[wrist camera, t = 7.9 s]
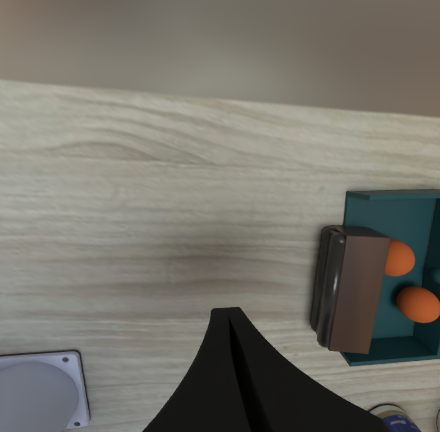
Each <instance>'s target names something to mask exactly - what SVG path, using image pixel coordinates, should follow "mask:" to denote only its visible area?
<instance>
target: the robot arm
mask: <svg viewBox="0 0 440 432" xmlns="http://www.w3.org/2000/svg"><path fill="white" fill-rule="evenodd" d="M65 357H67V358H68V359H67V358H65ZM89 421H90V417H89V410H88V404H87V398H86V392H85V386H84V380H83V374H82V368H81V362H80V356H79V354H78V353H77V352H75V351H70V352H57V353H43V354H29V355H16V356H2V357H0V432H64V430H65V429H71V428H82V427H86V426H87V425H88V424H89ZM142 432H392V431H391V430H390V429H389V428H388V426H387V425H386V424H385V423H384V421H383V420H382V419H381V418H379V417H377V416H376V415H374V414H372V413H370V412H368V411H366V410H364V409H362V408H360V407H358V406H356V405H354V404H352V403H351V402H349V401H347V400H345V399H343V398H342V397H340V396H338V395H337V394H335V393H333V392H332V391H330V390H328V389H327V388H325V387H324V386H322V385H321V384H319V383H318V382H316V381H315V380H313V379H312V378H310V377H309V376H308V375H306V374H305V373H303V372H302V371H301V370H299V369H298V368H297V367H295V366H294V365H293V364H292V363H291V362H289V361H288V360H287V359H286V358H285V357H283V356H282V355H281V354H280V353H279V352H278V351H277V350H276V349H275V348H274V347H273V346H272V345H271V344H270V343H269V342H268V341H267V340H266V339H265V338H264V337H263V336H262V334H261V333H260V332H259V331H258V330H257V329H256V328H255V326H254V325H253V324H252V323H251V321H250V320H249V319H248V318H247V316H246V315H245V314H244V312H243V311H242V309H241V308H240V307H230V308H213V309H212V310H211V317H210V321H209V325H208V328H207V331H206V334H205V337H204V339H203V342H202V344H201V346H200V349H199V351H198V353H197V355H196V357H195V359H194V361H193V363H192V365H191V367H190V368H189V370H188V372H187V374H186V375H185V377H184V378H183V380H182V381H181V383H180V385H179V386H178V388H177V389H176V390H175V392H174V393H173V395H172V396H171V397H170V399H169V400H168V401H167V403H166V404H165V405H164V406H163V408H162V409H161V410H160V412H159V413H158V414H157V415H156V417H155V418H154V419H153V420H152V421H151V422H150V423H149V425H148V426H147V427H146V428H145V429H144V430H143V431H142Z"/></svg>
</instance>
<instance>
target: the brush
mask: <svg viewBox="0 0 440 432" xmlns="http://www.w3.org/2000/svg"><path fill="white" fill-rule="evenodd" d="M390 242H391V238H390V237H388V236H386V235H384V234H382V233H379V232H377V231H375V230H373V229H371V228H368V227H348V226H331V227H327V228H325V229H324V230H323V234H322V241H321V249H320V256H319V264H318V272H317V279H316V287H315V294H314V302H313V309H312V317H311V328H312V329H313V331H315V332H316V334H317V341H318V343H319V344H320V345H321V346H322V347H325V348H328V350H329V351H339V352H350V353H362V354H368V353H369V348H370V343H371V338H372V333H373V328H374V323H375V318H376V313H377V308H378V303H379V298H380V292H381V287H382V282H383V277H384V272H385V267H386V262H387V257H388V252H389V247H390Z"/></svg>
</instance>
